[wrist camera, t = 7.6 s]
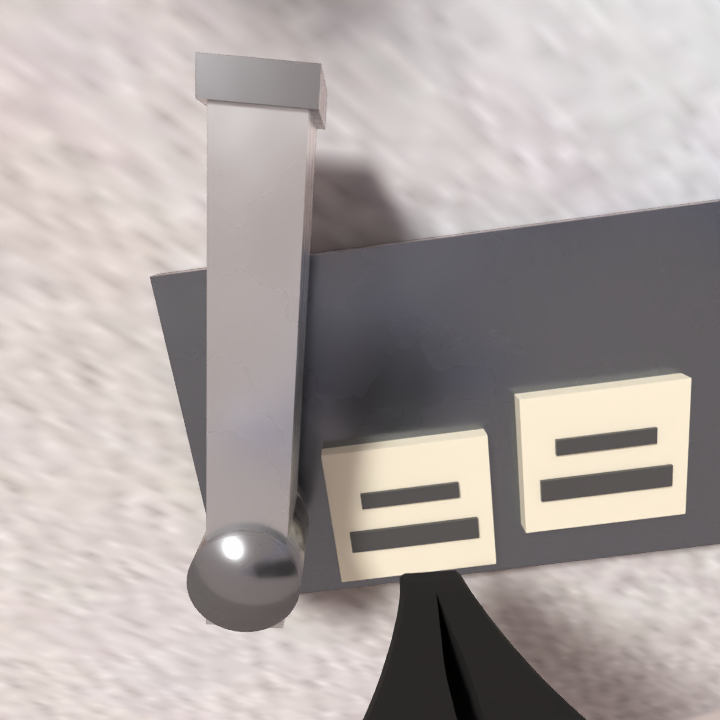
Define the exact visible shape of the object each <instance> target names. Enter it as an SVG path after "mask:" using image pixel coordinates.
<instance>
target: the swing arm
mask: <svg viewBox="0 0 720 720" xmlns="http://www.w3.org/2000/svg"><path fill="white" fill-rule="evenodd" d="M195 98H196V99H198V100H199V101H200V102H202V103H203V104H204V105H206V106H207V465H206V532H205V535H204V537H203V539H202V541H201V543H200V545H199V548H198V550H197V552H196V554H195V556H194V558H193V561H192V563H191V565H190V568H189V570H188V575H187V589H188V593H189V596H190V599H191V601H192V603H193V605H194V606H195V608H196V609H197V610H198V611H199V612H200V613H201V614H202V615H203V616H204V617H205V618H206V624H215V625H218V626H220V627H222V628H225V629H228V630H233V631H239V632H253V631H260V630H264V629H267V628H283V626H284V620H285V618H286V617H287V616H288V615H289V614H290V613H291V611H292V610H293V608H294V607H295V605H296V603H297V601H298V597H299V593H300V586H301V579H302V571H303V564H304V557H305V550H306V543H307V535H308V528H309V516H308V512H307V509H306V507H305V505H304V503H303V501H302V500H301V498H300V497H299V496H298V495H297V485H298V467H299V448H300V430H301V411H302V392H303V374H304V355H305V337H306V318H307V300H308V281H309V262H310V244H311V225H312V207H313V188H314V169H315V151H316V132H317V129H325V124H326V107H327V90H326V85H325V80H324V76H323V71H322V66H321V64H318V63H307V62H296V61H286V60H275V59H264V58H254V57H243V56H232V55H221V54H211V53H200V52H195Z"/></svg>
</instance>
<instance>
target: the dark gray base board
mask: <svg viewBox="0 0 720 720" xmlns="http://www.w3.org/2000/svg"><path fill="white" fill-rule="evenodd" d="M150 279H151V284H152V288H153V292H154V296H155V300H156V305H157V309H158V313H159V317H160V321H161V326H162V330H163V334H164V338H165V343H166V347H167V351H168V355H169V359H170V364H171V368H172V372H173V376H174V381H175V385H176V389H177V393H178V397H179V402H180V406H181V410H182V414H183V418H184V423H185V427H186V431H187V435H188V440H189V444H190V448H191V452H192V456H193V461H194V465H195V469H196V473H197V478H198V482H199V486H200V490H201V494H202V499H203V503H204V507H205V511H206V465H207V267H206V268H199V269H191V270H184V271H176V272H169V273H161V274H157V275H154V276H151V277H150ZM677 373H682V374H684V375H686V376H688V377H690V378H691V400H690V422H689V445H688V467H687V489H686V511H685V514H680V515H671V516H663V517H655V518H647V519H638V520H630V521H622V522H613V523H605V524H597V525H589V526H580V527H572V528H564V529H555V530H547V531H539V532H531V533H526V532H525V530H524V528H523V527H522V525H521V512H520V493H519V474H518V455H517V435H516V416H515V397H514V394H519V393H527V392H534V391H542V390H550V389H558V388H566V387H574V386H582V385H590V384H598V383H606V382H614V381H622V380H629V379H637V378H645V377H653V376H661V375H669V374H677ZM477 429H484V430H485V432H486V434H487V436H488V450H489V465H490V480H491V494H492V509H493V523H494V538H495V553H496V564H490V565H482V566H473V567H465V568H457V569H448V570H440V571H451V570H456V571H457V572H458V573H459V574H460V575H461V574H470V573H478V572H486V571H495V570H503V569H511V568H520V567H528V566H537V565H545V564H553V563H562V562H570V561H579V560H587V559H595V558H604V557H612V556H621V555H629V554H637V553H646V552H654V551H662V550H671V549H679V548H688V547H696V546H704V545H713V544H720V199H718V200H710V201H703V202H695V203H688V204H680V205H673V206H665V207H658V208H650V209H643V210H635V211H628V212H620V213H613V214H605V215H598V216H590V217H583V218H575V219H568V220H560V221H553V222H545V223H537V224H530V225H522V226H515V227H507V228H500V229H492V230H485V231H477V232H470V233H462V234H455V235H447V236H440V237H432V238H425V239H417V240H410V241H402V242H395V243H387V244H380V245H372V246H364V247H357V248H349V249H342V250H334V251H327V252H319V253H312V254H310V262H309V281H308V300H307V318H306V337H305V355H304V374H303V392H302V411H301V430H300V448H299V467H298V485H297V495H298V496H299V497H300V498H301V500H302V501H303V503H304V505H305V507H306V509H307V512H308V516H309V528H308V535H307V543H306V550H305V557H304V564H303V571H302V579H301V586H300V593H299V594H302V593H310V592H319V591H327V590H335V589H344V588H352V587H361V586H369V585H377V584H386V583H394V582H400V579H399V578H400V577H401V576H402V575H398V576H390V577H381V578H373V579H365V580H356V581H348V582H342V580H341V574H340V568H339V562H338V556H337V550H336V544H335V538H334V532H333V525H332V519H331V513H330V507H329V501H328V495H327V489H326V483H325V477H324V470H323V464H322V458H321V453H322V449H325V448H333V447H341V446H349V445H357V444H365V443H373V442H381V441H389V440H397V439H405V438H413V437H421V436H429V435H437V434H445V433H453V432H461V431H469V430H477ZM432 572H435V571H432Z"/></svg>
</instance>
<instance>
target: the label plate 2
mask: <svg viewBox="0 0 720 720" xmlns="http://www.w3.org/2000/svg"><path fill="white" fill-rule="evenodd" d="M514 397H515V416H516V435H517V455H518V474H519V493H520V512H521V525H522V527H523V528H524V530H525V532H526V533H531V532H539V531H547V530H555V529H564V528H572V527H580V526H589V525H597V524H605V523H613V522H622V521H630V520H638V519H647V518H655V517H663V516H671V515H680V514H685V511H686V489H687V467H688V445H689V422H690V400H691V378H690V377H688V376H686V375H684V374H682V373H677V374H669V375H661V376H653V377H645V378H637V379H629V380H622V381H614V382H606V383H598V384H590V385H582V386H574V387H566V388H558V389H550V390H542V391H534V392H527V393H519V394H514Z"/></svg>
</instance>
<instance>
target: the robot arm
mask: <svg viewBox="0 0 720 720" xmlns="http://www.w3.org/2000/svg"><path fill="white" fill-rule="evenodd" d="M399 579H400V599H399V607H398V613H397V618H396V623H395V627H394V631H393V636H392V640H391V644H390V647H389V651H388V654H387V657H386V660H385V663H384V667H383V670H382V673H381V676H380V679H379V682H378V684H377V687H376V690H375V692H374V695H373V697H372V700H371V702H370V705H369V707H368V710H367V712H366V714H365V716H364V718H363V720H586V719H585V718H584V717H583V716H582V715H580V714H579V713H578V712H577V711H576V710H575V709H574V708H573V707H572V706H570V705H569V704H568V703H567V702H566V701H565V700H564V699H563V698H562V697H561V696H560V695H559V694H558V693H557V692H556V691H555V690H554V689H553V688H551V687H550V686H549V685H548V684H547V683H546V682H545V680H544V679H543V678H542V677H541V676H540V675H539V674H538V673H537V672H536V671H535V670H534V669H533V668H532V667H531V666H530V665H529V664H528V662H527V661H526V660H525V659H524V658H523V657H522V656H521V655H520V654H519V652H518V651H517V650H516V649H515V648H514V647H513V646H512V644H511V643H510V642H509V641H508V640H507V638H506V637H505V636H504V635H503V633H502V632H501V631H500V630H499V628H498V627H497V626H496V625H495V623H494V622H493V621H492V620H491V618H490V617H489V616H488V614H487V613H486V612H485V610H484V609H483V608H482V606H481V605H480V604H479V602H478V601H477V599H476V598H475V596H474V595H473V594H472V592H471V591H470V589H469V588H468V586H467V584H466V583H465V581H464V580H463V578H462V576H461V575H460V574H459V573H458V572H457V571H456V570H451V571H435V572H419V573H404V574H403V575H402V576H401V577H400V578H399Z"/></svg>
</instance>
